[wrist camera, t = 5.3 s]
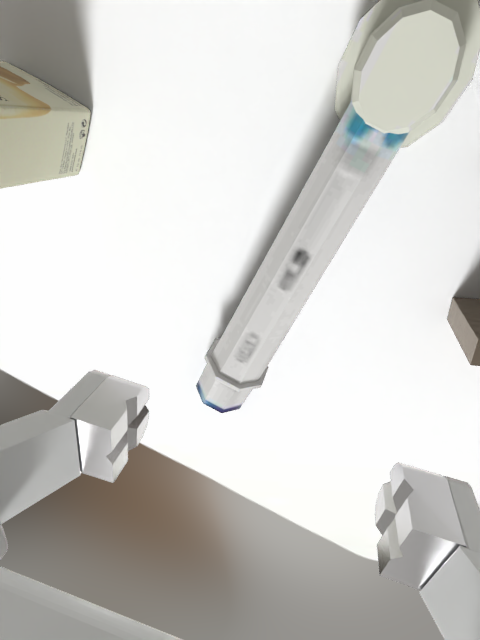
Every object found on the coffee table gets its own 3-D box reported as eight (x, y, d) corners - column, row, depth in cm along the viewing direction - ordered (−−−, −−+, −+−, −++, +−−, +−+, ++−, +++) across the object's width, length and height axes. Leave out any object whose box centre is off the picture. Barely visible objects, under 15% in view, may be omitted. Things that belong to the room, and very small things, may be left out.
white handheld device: (178, 394, 26) (398, -88, 10) (212, 339, 32) (393, -41, 16) (242, 428, 26) (560, -3, 10) (265, 367, 31) (501, 16, 16)
